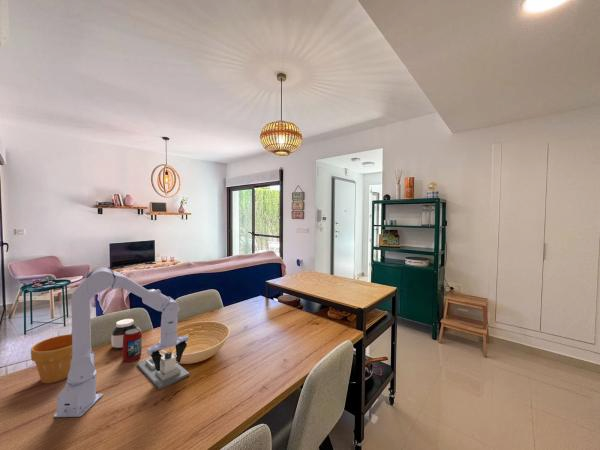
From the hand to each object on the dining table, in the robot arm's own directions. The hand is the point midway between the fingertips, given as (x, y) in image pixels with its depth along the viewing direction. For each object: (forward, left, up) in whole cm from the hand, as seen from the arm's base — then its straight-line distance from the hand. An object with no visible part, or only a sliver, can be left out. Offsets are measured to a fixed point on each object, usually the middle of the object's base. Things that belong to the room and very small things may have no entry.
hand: (168, 365), depth 96 cm
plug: (0, 0, -3) cm, 3 cm away
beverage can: (+12, +21, -4) cm, 24 cm away
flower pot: (0, +41, -4) cm, 41 cm away
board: (+3, +4, -4) cm, 6 cm away
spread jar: (+25, +31, -4) cm, 40 cm away
